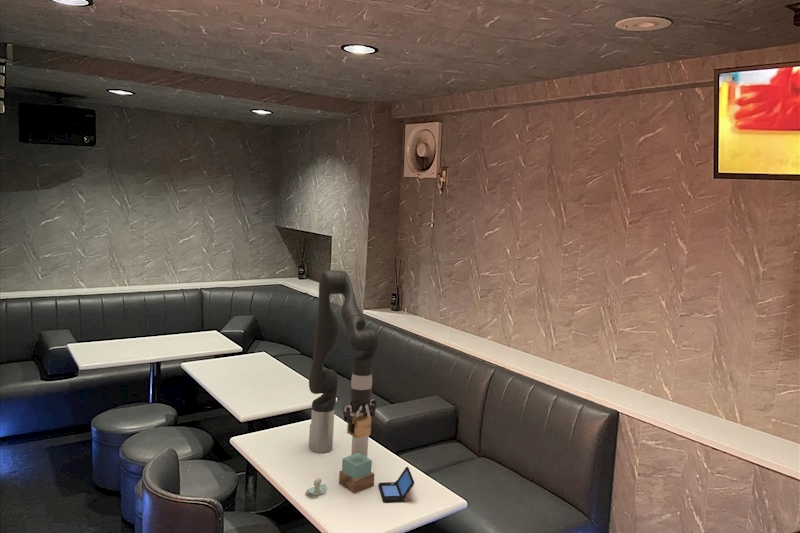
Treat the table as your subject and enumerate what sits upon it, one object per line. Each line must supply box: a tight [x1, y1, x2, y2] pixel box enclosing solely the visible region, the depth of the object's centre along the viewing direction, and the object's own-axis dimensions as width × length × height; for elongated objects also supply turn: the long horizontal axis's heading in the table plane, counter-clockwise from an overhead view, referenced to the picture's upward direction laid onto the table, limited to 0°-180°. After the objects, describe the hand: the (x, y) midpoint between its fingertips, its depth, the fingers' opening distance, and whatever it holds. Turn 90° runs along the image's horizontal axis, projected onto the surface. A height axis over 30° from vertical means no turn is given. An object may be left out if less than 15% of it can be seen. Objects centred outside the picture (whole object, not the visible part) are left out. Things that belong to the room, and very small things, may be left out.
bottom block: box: [338, 469, 375, 494], centre depth 204 cm, size 9×9×5 cm
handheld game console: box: [377, 466, 415, 504], centre depth 199 cm, size 12×11×7 cm
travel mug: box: [350, 435, 370, 458], centre depth 219 cm, size 6×7×20 cm
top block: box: [341, 453, 373, 480], centre depth 203 cm, size 8×8×5 cm
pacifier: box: [305, 477, 328, 497], centre depth 196 cm, size 7×6×6 cm
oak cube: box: [346, 413, 372, 439], centre depth 202 cm, size 6×6×6 cm
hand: (358, 430), depth 202 cm, fingers closed on oak cube, 6 cm apart
